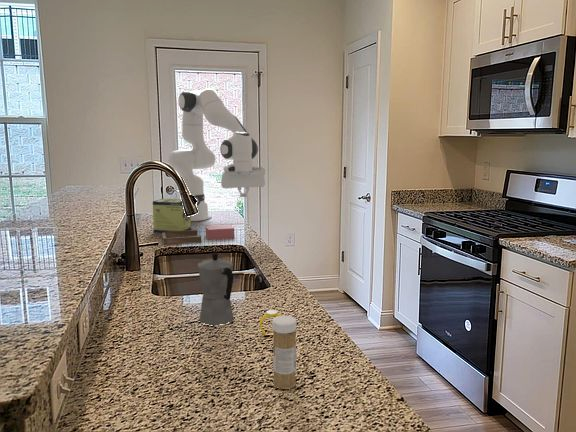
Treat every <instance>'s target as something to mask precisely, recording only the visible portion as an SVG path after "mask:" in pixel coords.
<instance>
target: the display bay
mask: <svg viewBox="0 0 576 432" xmlns="http://www.w3.org/2000/svg"><path fill="white" fill-rule="evenodd" d="M198 233H199V231H198V229H191V230H185V231H168V232H162V233H161V236H162V242H163V244H164V245H177V244H192V243H202V235H198Z"/></svg>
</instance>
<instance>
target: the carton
mask: <svg viewBox="0 0 576 432" xmlns="http://www.w3.org/2000/svg"><path fill="white" fill-rule="evenodd" d="M204 227H205V230H204V231H205V237H206V239H207V240H208V241H213V240H214V241H215V240H227V239H230V240H231V239H235V238H236V237H235V227H233V226H232V224H221V225H220V224H218V225H205V226H204Z"/></svg>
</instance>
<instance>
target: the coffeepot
mask: <svg viewBox="0 0 576 432" xmlns="http://www.w3.org/2000/svg"><path fill="white" fill-rule="evenodd" d="M211 256H212V259H210V258H209V259H204V260H201V262H199V263H197V268H198V269H197V271H198V273H199V275H198V276H199V279H200V287H201V291H202V299H201V307H200V314H199V321H200V322H202V323H205V324H209V325H219V324H226V323H228V322H230V321H232V320H234V321H235V318H234V313H233V306H232V302H231V295H232V291H233V289H232V288H233V285H234V284H233V283H234V279H235V277H234V273H233V270H234V264H233V261H230V260H225V259H218V257H219V253H218V252H214V253H212V254H211ZM200 322H199V323H200Z"/></svg>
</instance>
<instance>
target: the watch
mask: <svg viewBox="0 0 576 432" xmlns="http://www.w3.org/2000/svg"><path fill="white" fill-rule="evenodd" d="M278 316H283V315H282V314H281V313H280V312H278V310H277V309H269V310H266V312H265V313H264V314H263V315H262V316H261V319H260V321H259V328H260V329H259V330H261V333H262V335H264V334H266V333H267V332H266V331H265V330H264V329H263V322H264V320H265V319H266V318H268V317H269V318H270V317H271V318H273V317H274V318H275V317H278ZM265 332H266V333H265Z"/></svg>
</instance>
